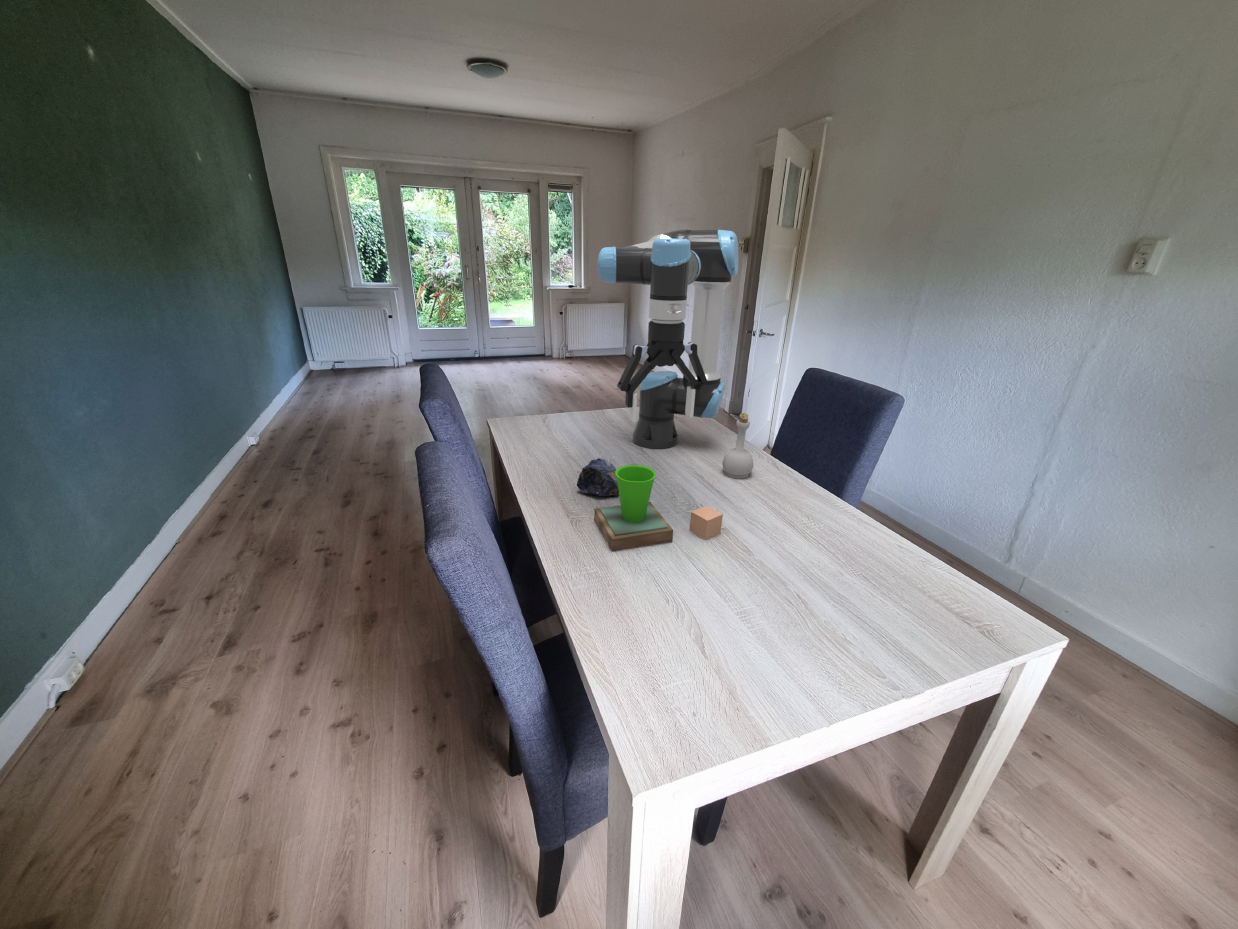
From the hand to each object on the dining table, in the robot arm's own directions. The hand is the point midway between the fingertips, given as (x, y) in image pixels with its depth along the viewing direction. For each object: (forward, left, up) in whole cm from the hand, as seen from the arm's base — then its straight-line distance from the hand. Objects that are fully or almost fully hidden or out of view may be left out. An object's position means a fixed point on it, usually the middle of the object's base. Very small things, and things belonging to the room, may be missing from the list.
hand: (661, 418), depth 110 cm
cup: (+6, -8, -21) cm, 23 cm away
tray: (+6, -8, -25) cm, 26 cm away
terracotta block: (+11, +8, -25) cm, 28 cm away
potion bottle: (-16, +32, -25) cm, 44 cm away
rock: (-15, -9, -25) cm, 30 cm away
